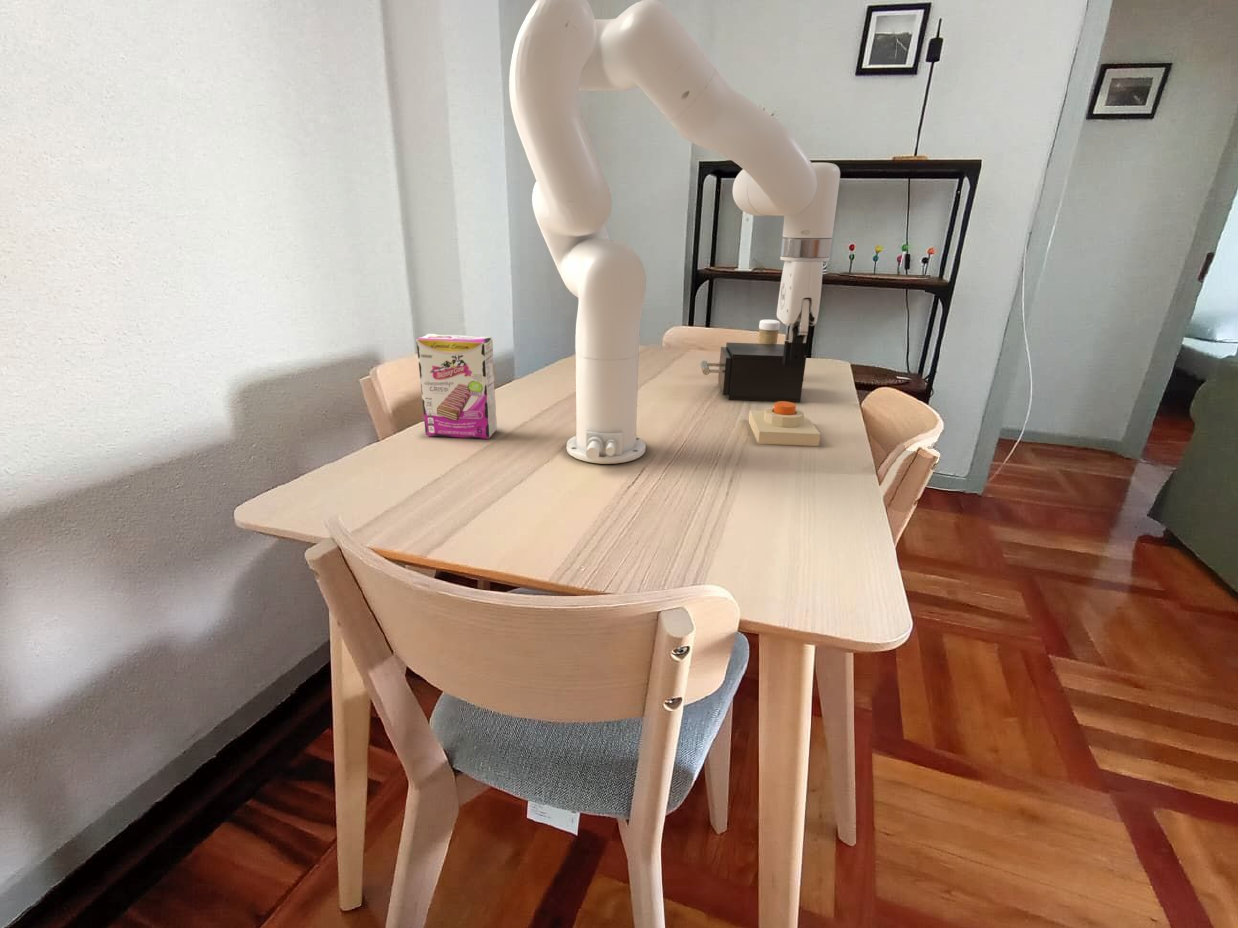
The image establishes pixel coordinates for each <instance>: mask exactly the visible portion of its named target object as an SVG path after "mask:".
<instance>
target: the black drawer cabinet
mask: <svg viewBox="0 0 1238 928" xmlns="http://www.w3.org/2000/svg"><path fill="white" fill-rule="evenodd" d="M725 347H726V348H727V350H728V352H729V354H730V356H731V358H732V363H731V374H730V385H729V395H726V397H727V400H728V401H734V402H735V401H737V402H760V403H761V402H762V403H764V402H765V403H775V402H779V401H787V402H792V403H794V404H800V403H801V398H802V391H803V385H804V377H805V371H806V370H805V369H806V363H807V356H806V355H805V357H804V365H803V366H802V367H786V366H784V364H783V363H782V362H783V352H784V343H777V344H758V342H756V343H755V342H754V343H753V342H726V344H725Z"/></svg>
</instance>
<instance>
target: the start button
mask: <svg viewBox="0 0 1238 928" xmlns="http://www.w3.org/2000/svg"><path fill="white" fill-rule="evenodd" d="M773 407H774V413H776V414H780V415H795V410H796V409H797V403H792V402H787V401H779V402H774V404H773Z"/></svg>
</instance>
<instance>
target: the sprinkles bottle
mask: <svg viewBox="0 0 1238 928" xmlns="http://www.w3.org/2000/svg"><path fill="white" fill-rule="evenodd" d="M780 327H781V321H780V320H776V319H760V320H759V325H758V330H759V333H758V339H757V340H758V341H757V343H758V344H778V337H779V330H780V329H781V328H780Z"/></svg>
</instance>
